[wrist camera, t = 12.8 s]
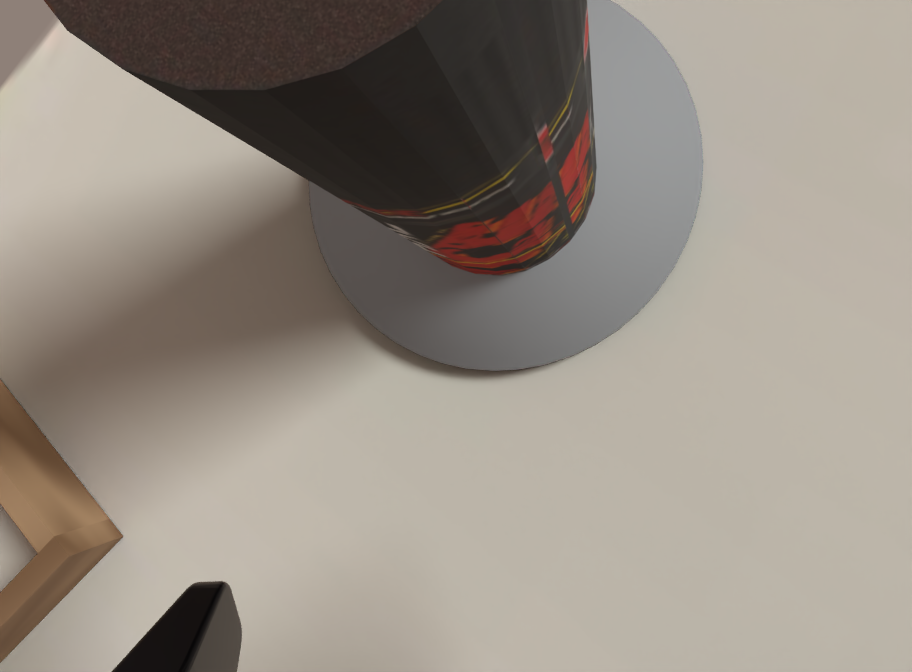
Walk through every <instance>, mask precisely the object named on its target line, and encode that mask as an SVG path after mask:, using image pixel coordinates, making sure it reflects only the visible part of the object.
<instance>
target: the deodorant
mask: <svg viewBox="0 0 912 672" xmlns="http://www.w3.org/2000/svg"><path fill="white" fill-rule="evenodd" d="M44 1H45V2H46V4H47V5H48V6H49V7H50V9H51V10H52V11H53V13H54V14H55V15H56V16H57V18H58V19H59V20H60V22H61V23H62V24H63V25H64V27H65V28H66V29H67V31H69V32H70V33H72V34H73V35H75V36H76V37H77V38H79V39H80V40H82V41H83V42H85V43H86V44H88V45H89V46H90V47H92V48H93V49H95V50H96V51H98V52H99V53H100V54H102V55H103V56H105V57H106V58H108V59H109V60H110V61H112V62H113V63H115V64H116V65H118V66H119V67H121V68H122V69H123V70H125V71H127V72H129V73H130V74H132V75H134V76H135V77H137V78H139V79H140V80H142V81H144V82H145V83H147V84H149V85H150V86H152V87H154V88H155V89H157V90H159V91H160V92H162V93H164V94H165V95H167V96H169V97H170V98H172V99H174V100H175V101H177V102H179V103H180V104H182V105H184V106H185V107H187V108H189V109H190V110H192V111H194V112H195V113H197V114H199V115H200V116H202V117H204V118H205V119H207V120H209V121H210V122H212V123H214V124H215V125H217V126H219V127H220V128H222V129H224V130H225V131H227V132H229V133H230V134H232V135H234V136H235V137H237V138H239V139H240V140H242V141H244V142H246V143H247V144H249V145H251V146H252V147H254V148H256V149H257V150H259V151H261V152H262V153H264V154H266V155H267V156H269V157H271V158H272V159H274V160H276V161H277V162H279V163H281V164H282V165H284V166H286V167H287V168H289V169H291V170H292V171H294V172H296V173H297V174H299V175H301V176H302V177H304V178H306V179H307V180H309V181H311V182H312V183H314V184H316V185H317V186H319V187H321V188H322V189H324V190H326V191H327V192H329V193H331V194H332V195H334V196H336V197H337V198H339V199H341V200H342V201H344V202H346V203H347V204H349V205H351V206H352V207H354V208H356V209H357V210H359V211H361V212H363V213H364V214H366V215H368V216H369V217H371V218H373V219H374V220H376V221H378V222H379V223H381V224H383V225H384V226H386V227H388V228H389V229H391V230H393V231H394V232H396V233H398V234H399V235H401V236H403V237H404V238H406V239H408V240H409V241H411V242H413V243H414V244H416V245H418V246H419V247H421V248H423V249H424V250H426V251H428V252H429V253H431V254H433V255H434V256H436V257H438V258H439V259H441V260H443V261H444V262H446V263H448V264H449V265H451V266H453V267H456V268H459V269H462V270H465V271H468V272H471V273H474V274H481V275H497V276H502V275H507V274H512V273H517V272H522V271H526V270H528V269H531V268H533V267H535V266H537V265H539V264H541V263H543V262H545V261H547V260H548V259H550V258H551V257H553V256H554V255H555V254H556V253H557V252H558V251H560V250H561V249H562V248H563V247H564V246H565V245H567V244H568V243H569V242H570V241H571V239H572V238H573V237H574V235H575V234H576V232H577V231H578V229H579V228H580V226H581V225H582V223H583V222H584V221H585V219H586V216H587V214H588V211H589V208H590V205H591V202H592V200H593V197H594V194H595V182H596V169H597V165H596V148H595V130H594V113H593V95H592V78H591V60H590V43H589V25H588V8H587V0H44Z"/></svg>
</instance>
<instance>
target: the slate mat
mask: <svg viewBox="0 0 912 672" xmlns="http://www.w3.org/2000/svg"><path fill="white" fill-rule="evenodd" d="M587 8H588V25H589V43H590V60H591V78H592V95H593V113H594V130H595V148H596V165H597V169H596V182H595V194H594V197H593V200H592V202H591V205H590V208H589V211H588V214H587V216H586V219H585V221H584V222H583V223H582V225H581V226H580V228H579V229H578V231H577V232H576V234H575V235H574V237H573V238H572V239H571V241H570V242H569V243H568V244H567V245H565V246H564V247H563V248H562V249H561V250H560V251H558V252H557V253H556V254H555V255H554V256H553V257H551V258H550V259H548V260H547V261H545V262H543V263H541V264H539V265H537V266H535V267H533V268H531V269H528V270H526V271H522V272H517V273H512V274H507V275H502V276H497V275H481V274H474V273H471V272H468V271H465V270H462V269H459V268H456V267H453V266H451V265H449V264H448V263H446V262H444V261H443V260H441V259H439V258H438V257H436V256H434V255H433V254H431V253H429V252H428V251H426V250H424V249H423V248H421V247H419V246H418V245H416V244H414V243H413V242H411V241H409V240H408V239H406V238H404V237H403V236H401V235H399V234H398V233H396V232H394V231H393V230H391V229H389V228H388V227H386V226H384V225H383V224H381V223H379V222H378V221H376V220H374V219H373V218H371V217H369V216H368V215H366V214H364V213H363V212H361V211H359V210H357V209H356V208H354V207H352V206H351V205H349V204H347V203H346V202H344V201H342V200H341V199H339V198H337V197H336V196H334V195H332V194H331V193H329V192H327V191H326V190H324V189H322V188H321V187H319V186H317V185H316V184H314V183H312V182H311V181H309V197H310V209H311V214H312V220H313V226H314V230H315V234H316V237H317V240H318V244H319V247H320V250H321V253H322V255H323V257H324V259H325V262H326V264H327V266H328V268H329V270H330V273H331V274H332V276H333V278H334V279H335V281H336V283H337V284H338V286H339V287H340V289H341V291H342V292H343V294H344V295H345V296H346V297H347V299H348V300H349V301H350V302H351V304H352V305H353V306H354V307H355V308H356V310H357V311H358V312H359V313H360V314H361V315H362V316H363V317H364V318H365V319H366V320H367V321H368V322H370V323H371V324H372V325H373V326H374V327H375V328H376V329H377V330H379V331H380V332H381V333H383V334H384V335H386V336H387V337H388V338H390V339H391V340H393V341H394V342H396V343H397V344H399V345H401V346H403V347H405V348H407V349H408V350H410V351H412V352H414V353H416V354H418V355H421V356H423V357H426V358H429V359H432V360H434V361H437V362H440V363H443V364H447V365H452V366H457V367H461V368H466V369H477V370H489V371H498V370H517V369H525V368H530V367H535V366H541V365H546V364H549V363H553V362H556V361H559V360H562V359H565V358H568V357H571V356H573V355H575V354H577V353H579V352H582V351H584V350H586V349H588V348H590V347H592V346H594V345H596V344H598V343H599V342H601V341H602V340H604V339H605V338H607V337H608V336H610V335H611V334H613V333H615V332H616V331H618V330H619V329H620V328H621V327H622V326H624V325H625V324H626V323H627V322H628V321H629V320H631V319H632V318H633V317H634V316H635V315H636V314H638V313H639V312H640V310H641V309H642V308H643V307H644V306H645V305H646V304H647V303H648V302H649V301H650V299H651V298H652V297H653V296H654V295H655V294H656V293H657V291H658V290H659V289H660V287H661V286H662V284H663V283H664V281H665V280H666V278H667V277H668V275H669V274H670V273H671V271H672V270H673V268H674V266H675V264H676V263H677V261H678V259H679V257H680V255H681V253H682V251H683V249H684V247H685V245H686V243H687V240H688V237H689V234H690V232H691V229H692V226H693V223H694V220H695V218H696V213H697V208H698V204H699V199H700V194H701V188H702V173H703V151H702V137H701V131H700V126H699V122H698V117H697V112H696V108H695V105H694V103H693V100H692V97H691V95H690V92H689V89H688V86H687V84H686V82H685V80H684V78H683V76H682V74H681V73H680V71H679V69H678V67H677V65H676V63H675V61H674V60H673V58H672V57H671V56H670V54H669V53H668V52H667V50H666V49H665V48H664V46H663V45H662V44H661V42H660V41H659V40H658V39H657V38H656V37H655V36H654V35H653V34H652V33H651V32H650V31H649V29H648V28H647V27H646V26H645V25H644V24H643V23H642V22H641V21H639V20H638V19H637V18H635V17H634V16H633V15H631V14H630V13H629V12H627V11H626V10H625V9H623V8H622V7H621V6H620V5H618V4H616V3H614V2H612V1H611V0H587Z"/></svg>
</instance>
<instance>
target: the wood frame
mask: <svg viewBox="0 0 912 672" xmlns="http://www.w3.org/2000/svg"><path fill="white" fill-rule="evenodd" d="M0 504H1V505H2V506H3V508H4V509H5V510H6V512H7V513H8V514H9V516H10V517H11V518H12V520H13V521H14V522H15V524H16V525H17V526H18V528H19V529H20V530H21V532H22V533H23V534H24V536H25V537H26V538H27V540H28V541H29V542H30V544H31V545H32V546H33V548H34V549H35V550H36V552H37V553H38V554H37V555H36V556H35V557H34V558H33V559H32V560H31V561H30V562H29V563H28V564H27V565H26V566H25V567H24V568H23V569H22V570H21V571H20V573H19V574H18V575H17V576H16V577H15V578H14V579H13V580H12V581H11V582H10V583H9V584H8V585H7V586H6V587H5V588H4V589H3V590H2V591H1V592H0V663H1V662H2V661H3V659H4V658H5V657H6V656H7V655H8V654H9V653H10V652H11V651H12V650H13V649H14V648H15V647H16V646H17V645H18V644H19V643H20V642H21V641H22V640H23V639H24V638H25V637H26V636H27V635H28V634H29V633H30V632H31V631H32V630H33V629H34V628H35V627H36V626H37V625H38V624H39V623H40V621H41V620H42V619H43V618H44V617H45V616H46V615H47V614H48V613H49V612H50V611H51V610H52V609H53V608H54V607H55V606H56V605H57V604H58V603H59V602H60V601H61V600H62V599H63V598H64V597H65V596H66V595H67V594H68V593H69V592H70V591H71V590H72V589H73V588H74V587H75V586H76V585H77V583H78V582H79V581H80V580H81V579H82V578H83V577H84V576H85V575H86V574H87V573H88V572H89V571H90V570H91V569H92V568H93V567H94V566H95V565H96V564H97V563H98V562H99V561H100V560H101V559H102V558H103V557H104V556H105V555H106V554H107V553H108V552H109V551H110V550H111V549H112V548H113V547H114V546H115V544H116V543H117V542H118V541H119V540H120V539H121V538H122V537H123V535H122V534H121V533H120V532H119V530H118V529H117V528H116V527H115V525H114V524H113V523H112V521H111V520H110V519H109V518H108V516H107V515H106V514H105V513H104V511H103V510H102V509H101V507H100V506H99V505H98V504H97V502H96V501H95V500H94V498H93V497H92V496H91V495H90V493H89V492H88V491H87V490H86V488H85V487H84V486H83V484H82V483H81V482H80V481H79V479H78V478H77V477H76V475H75V474H74V473H73V472H72V470H71V469H70V468H69V467H68V465H67V464H66V463H65V461H64V460H63V459H62V458H61V456H60V455H59V454H58V453H57V451H56V450H55V449H54V447H53V446H52V445H51V444H50V442H49V441H48V440H47V438H46V437H45V436H44V435H43V433H42V432H41V431H40V430H39V428H38V427H37V426H36V424H35V423H34V422H33V421H32V419H31V418H30V417H29V415H28V414H27V413H26V412H25V410H24V409H23V408H22V407H21V405H20V404H19V403H18V401H17V400H16V399H15V398H14V396H13V395H12V394H11V393H10V391H9V390H8V389H7V387H6V386H5V385H4V384H3V382H2V381H1V380H0Z"/></svg>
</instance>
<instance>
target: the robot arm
mask: <svg viewBox="0 0 912 672" xmlns="http://www.w3.org/2000/svg"><path fill="white" fill-rule="evenodd" d="M241 640H242V628H241V622H240V619H239V615H238V612H237V608H236V605H235V601H234V598H233V594H232V591H231V588H230V586H229V585H228V584H227V583H226V582H223V581H215V582H197V583H194V584H192V585H191V586H190V587H188V588H187V589H186V590H185V592H184V593H183V594H182V595H181V596H180V597H179V598H178V599H177V600H176V601H175V603H174V604H173V605H172V606H171V607H170V608H169V609H168V610H167V611H166V612H165V614H164V615H163V616H162V617H161V618H160V619H159V620H158V621H157V622H156V624H155V625H154V626H153V627H152V628H151V629H150V630H149V631H148V632H147V633H146V635H145V636H144V637H143V638H142V639H141V640H140V641H139V642H138V643H137V644H136V646H135V647H134V648H133V649H132V650H131V651H130V652H129V653H128V654H127V655H126V657H125V658H124V659H123V660H122V661H121V662H120V663H119V664H118V665H117V667H116V668H115V669H114V670H113V671H112V672H237V667H238V661H239V655H240V648H241Z"/></svg>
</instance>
